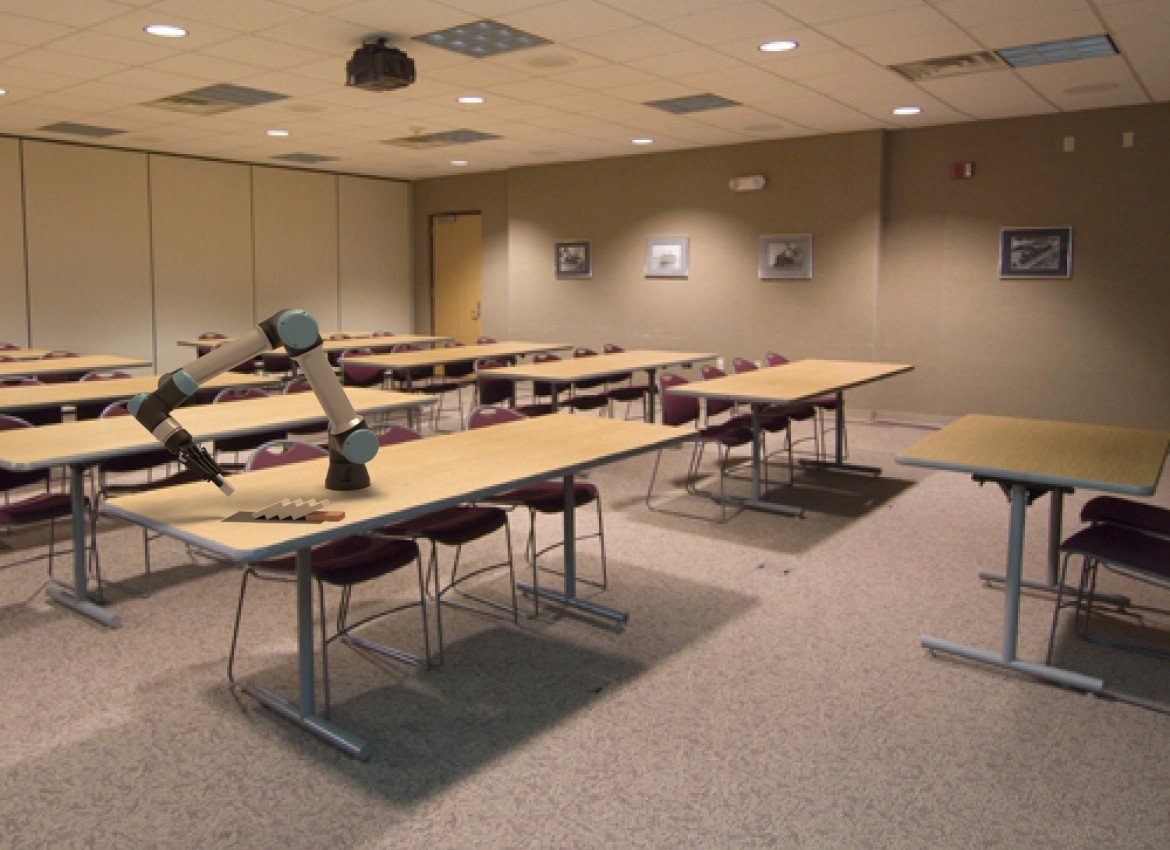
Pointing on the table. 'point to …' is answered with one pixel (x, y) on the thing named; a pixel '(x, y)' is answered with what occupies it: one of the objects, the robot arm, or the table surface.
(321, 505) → the domino
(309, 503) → the domino
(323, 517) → the domino
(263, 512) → the domino
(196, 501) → the table surface
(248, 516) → the mat
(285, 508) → the domino
